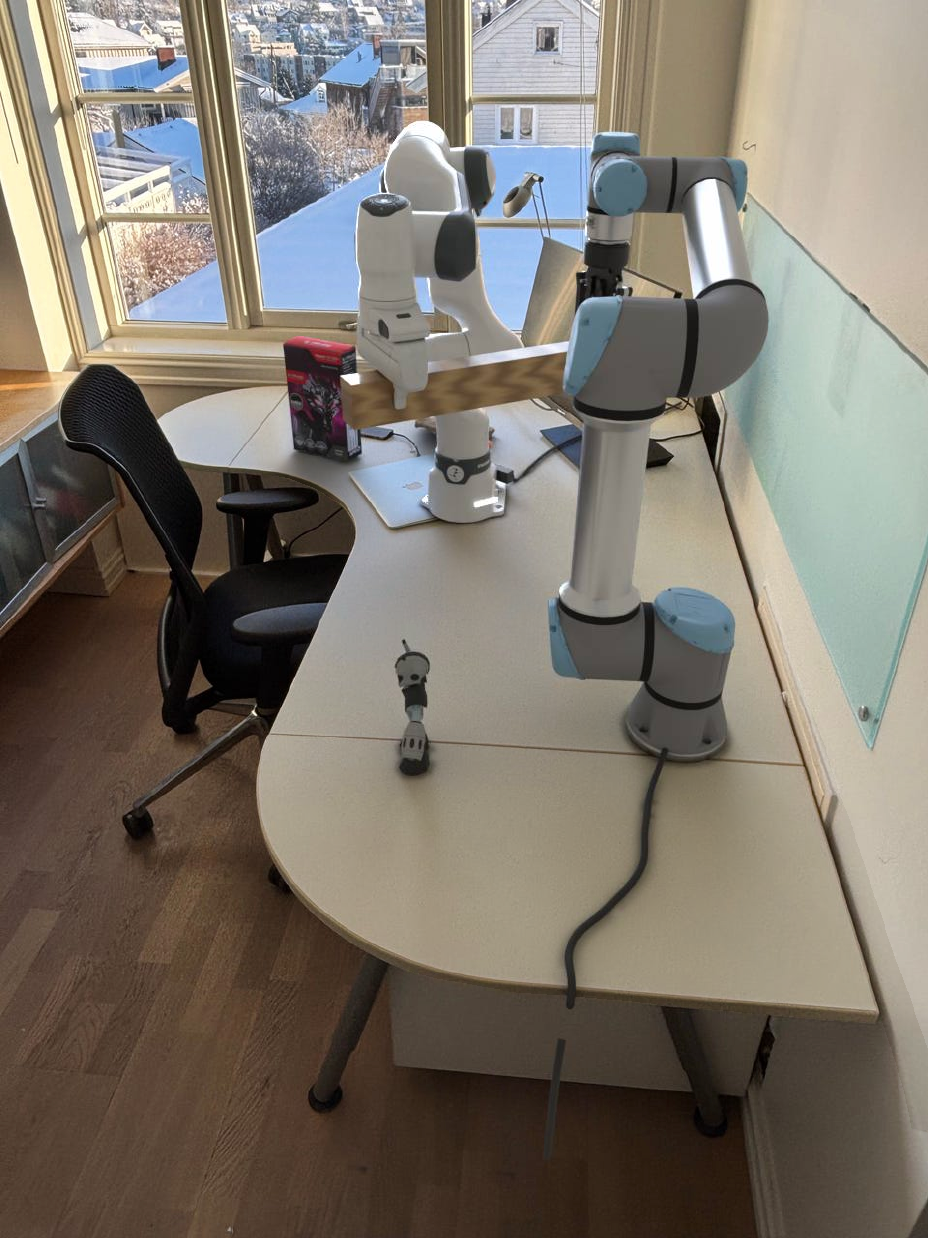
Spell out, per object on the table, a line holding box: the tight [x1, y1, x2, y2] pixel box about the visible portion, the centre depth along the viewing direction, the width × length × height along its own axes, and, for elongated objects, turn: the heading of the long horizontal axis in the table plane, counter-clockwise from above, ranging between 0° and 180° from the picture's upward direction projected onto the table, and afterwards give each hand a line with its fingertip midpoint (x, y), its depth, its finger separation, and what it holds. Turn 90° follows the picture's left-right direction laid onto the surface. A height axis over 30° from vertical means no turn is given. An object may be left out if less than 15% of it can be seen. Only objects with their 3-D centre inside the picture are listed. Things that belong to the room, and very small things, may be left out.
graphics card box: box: [282, 335, 363, 463], centre depth 222 cm, size 17×7×27 cm, turn 62°
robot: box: [394, 638, 431, 776], centre depth 132 cm, size 20×5×20 cm, turn 3°
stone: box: [413, 416, 496, 439], centre depth 236 cm, size 21×15×6 cm
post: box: [340, 340, 569, 430], centre depth 154 cm, size 54×5×7 cm, turn 116°
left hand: (391, 400), depth 147 cm, fingers closed on post, 5 cm apart
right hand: (594, 378), depth 163 cm, fingers closed on post, 5 cm apart
